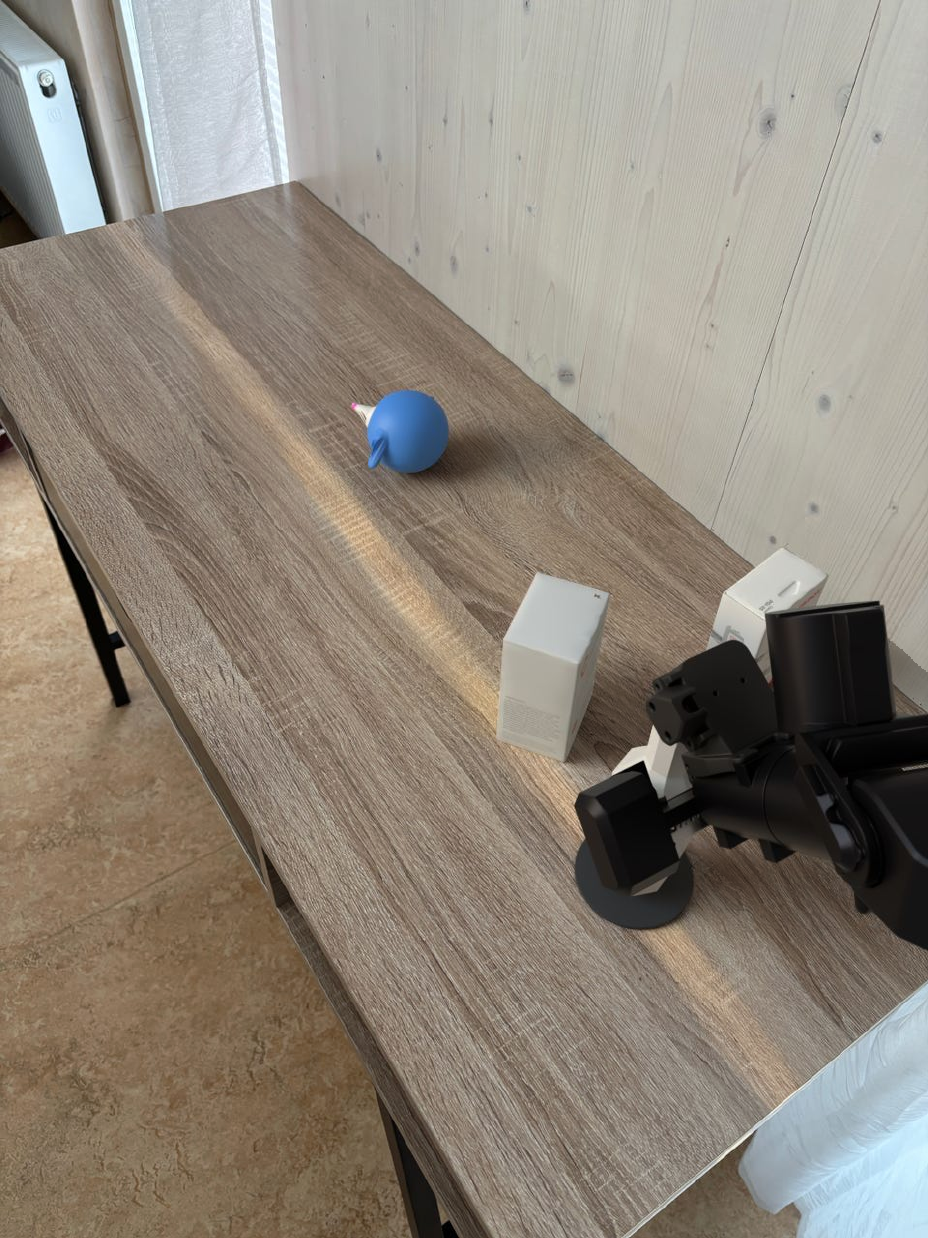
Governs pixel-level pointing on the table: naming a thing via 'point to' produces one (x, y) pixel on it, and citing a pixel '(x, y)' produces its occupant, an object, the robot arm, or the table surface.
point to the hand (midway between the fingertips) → (649, 767)
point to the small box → (550, 665)
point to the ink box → (765, 602)
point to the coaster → (639, 908)
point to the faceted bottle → (660, 775)
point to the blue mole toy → (405, 431)
